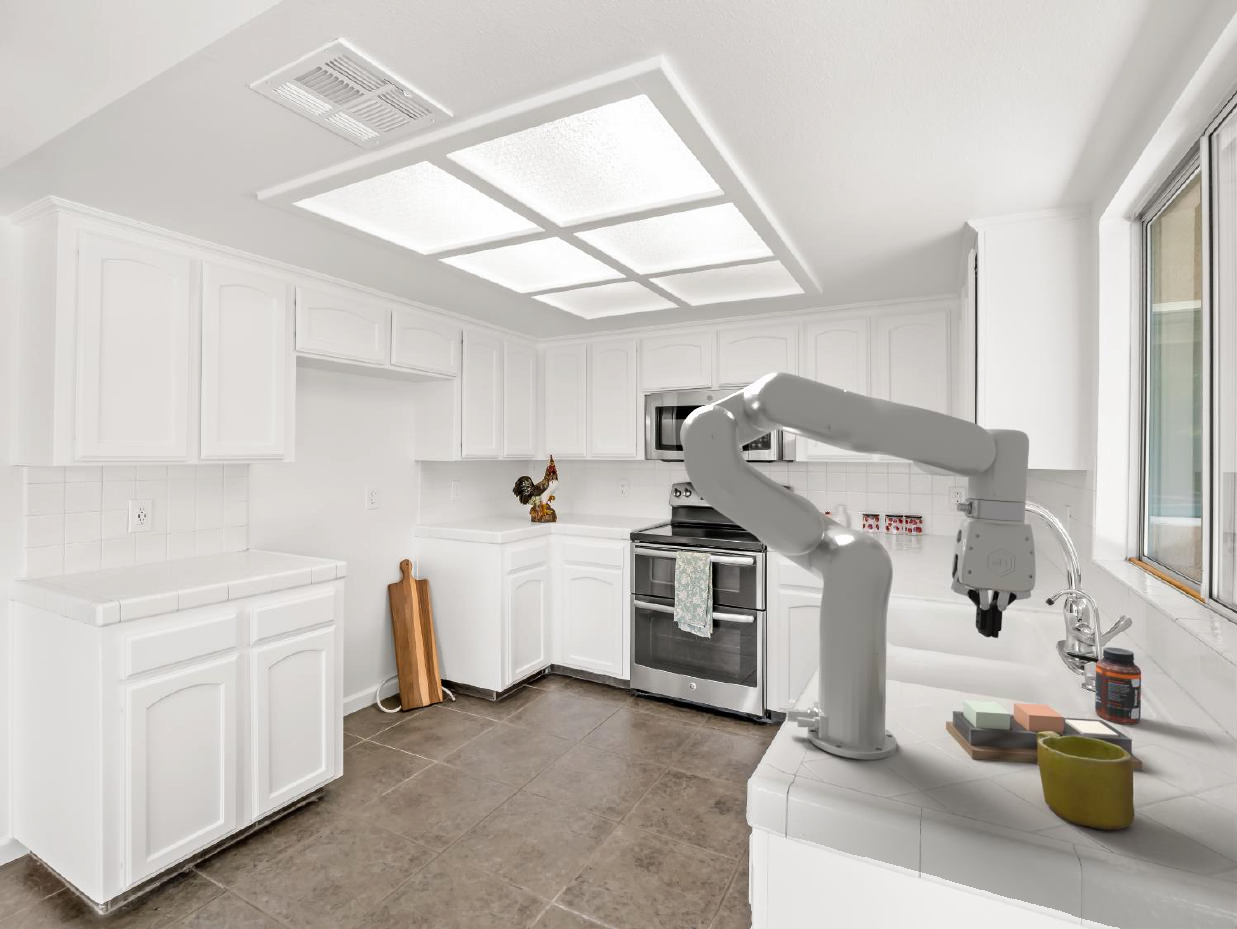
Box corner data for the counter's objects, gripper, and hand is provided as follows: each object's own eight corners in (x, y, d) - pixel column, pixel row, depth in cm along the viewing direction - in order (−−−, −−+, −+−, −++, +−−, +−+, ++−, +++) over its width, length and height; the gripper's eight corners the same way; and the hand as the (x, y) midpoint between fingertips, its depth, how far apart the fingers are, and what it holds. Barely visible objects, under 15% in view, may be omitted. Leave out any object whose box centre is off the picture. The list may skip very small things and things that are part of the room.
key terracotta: (1028, 731, 92) (1029, 715, 92) (1013, 718, 97) (1013, 703, 97) (1063, 733, 91) (1063, 717, 91) (1046, 720, 96) (1046, 704, 96)
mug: (1177, 830, 70) (1136, 736, 72) (1078, 849, 72) (1041, 756, 74) (1119, 796, 82) (1085, 716, 84) (1035, 812, 83) (1005, 733, 86)
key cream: (1082, 749, 91) (1083, 732, 91) (1064, 735, 96) (1065, 719, 96) (1118, 751, 90) (1118, 734, 90) (1098, 737, 95) (1098, 721, 95)
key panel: (972, 758, 91) (972, 734, 91) (946, 729, 100) (946, 706, 100) (1142, 770, 88) (1142, 745, 88) (1097, 738, 98) (1098, 715, 97)
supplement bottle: (1149, 727, 102) (1150, 657, 102) (1107, 724, 103) (1108, 654, 103) (1127, 713, 108) (1128, 646, 108) (1087, 709, 109) (1088, 644, 109)
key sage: (975, 728, 93) (976, 712, 93) (963, 715, 98) (963, 700, 98) (1009, 730, 92) (1009, 714, 92) (995, 717, 97) (995, 701, 97)
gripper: (951, 511, 92) (944, 637, 92) (1063, 518, 90) (1055, 647, 90) (933, 507, 99) (926, 624, 100) (1036, 513, 97) (1029, 633, 97)
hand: (987, 634), depth 95 cm, fingers closed
